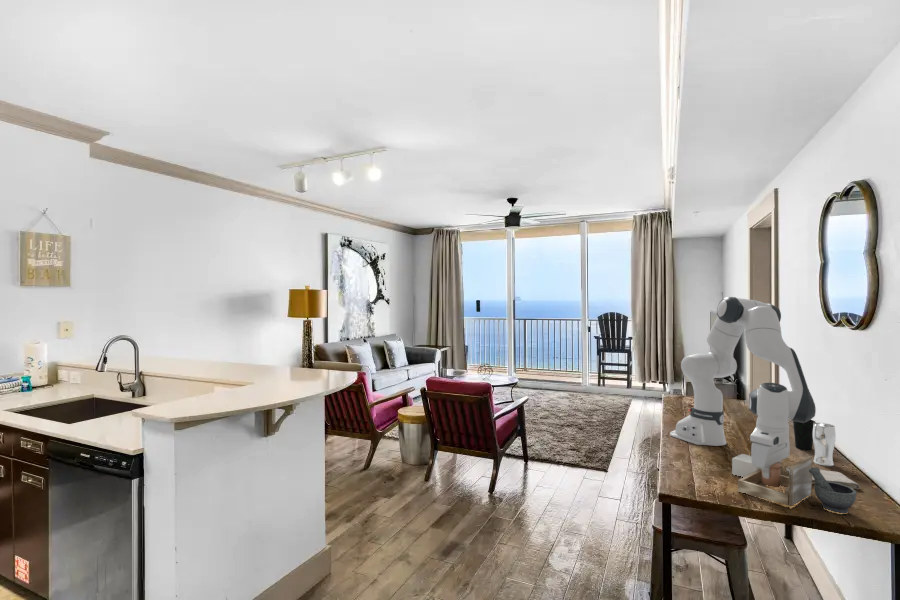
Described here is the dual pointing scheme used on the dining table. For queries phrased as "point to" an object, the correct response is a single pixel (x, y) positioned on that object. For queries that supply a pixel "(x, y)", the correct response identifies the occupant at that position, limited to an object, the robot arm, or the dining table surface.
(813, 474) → the mortar and pestle
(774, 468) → the terracotta pot
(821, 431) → the beer glass
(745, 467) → the block
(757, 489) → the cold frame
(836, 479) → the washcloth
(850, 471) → the dining table surface
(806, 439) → the cup
